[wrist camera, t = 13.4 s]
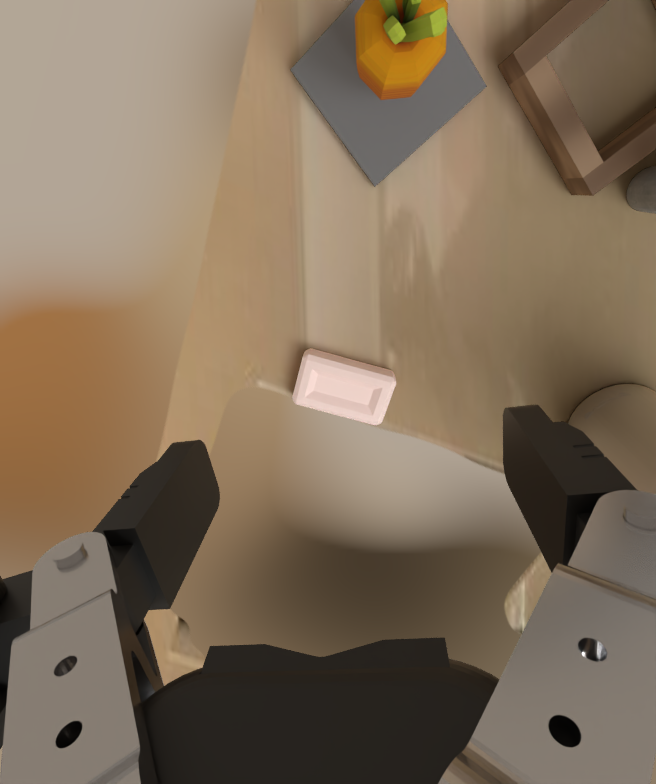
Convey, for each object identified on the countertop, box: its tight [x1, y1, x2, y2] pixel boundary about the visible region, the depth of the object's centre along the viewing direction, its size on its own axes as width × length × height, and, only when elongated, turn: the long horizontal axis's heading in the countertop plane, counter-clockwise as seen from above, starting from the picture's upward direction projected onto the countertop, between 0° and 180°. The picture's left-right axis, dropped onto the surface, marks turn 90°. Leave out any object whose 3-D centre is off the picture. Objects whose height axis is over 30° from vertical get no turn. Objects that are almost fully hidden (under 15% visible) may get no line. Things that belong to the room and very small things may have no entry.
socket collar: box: [498, 0, 656, 196], centre depth 29 cm, size 11×11×4 cm
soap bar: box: [292, 348, 396, 425], centre depth 42 cm, size 5×9×2 cm, turn 75°
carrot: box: [355, 0, 448, 100], centre depth 24 cm, size 5×5×15 cm
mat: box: [291, 0, 487, 186], centre depth 31 cm, size 10×10×1 cm
